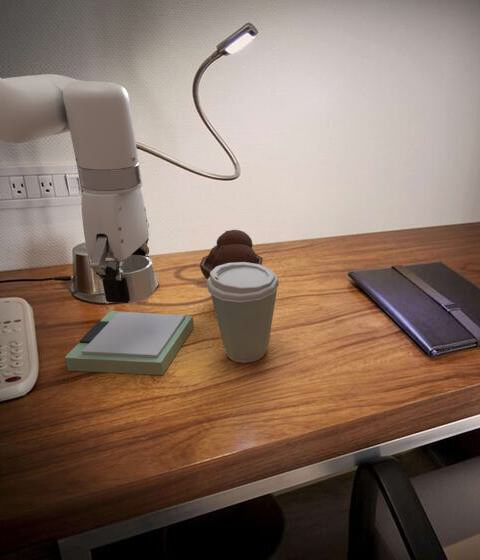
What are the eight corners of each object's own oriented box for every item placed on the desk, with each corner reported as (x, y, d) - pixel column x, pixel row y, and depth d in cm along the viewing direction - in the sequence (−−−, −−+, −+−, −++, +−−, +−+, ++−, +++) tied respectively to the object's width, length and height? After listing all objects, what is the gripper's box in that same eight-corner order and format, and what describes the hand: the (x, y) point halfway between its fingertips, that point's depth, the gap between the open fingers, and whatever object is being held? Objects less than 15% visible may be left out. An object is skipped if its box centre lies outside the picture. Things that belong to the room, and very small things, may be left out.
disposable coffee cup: (261, 329, 93) (257, 252, 87) (293, 357, 86) (292, 276, 80) (202, 348, 87) (194, 266, 80) (232, 381, 80) (225, 294, 73)
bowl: (96, 303, 78) (90, 272, 75) (118, 282, 84) (113, 253, 82) (144, 305, 78) (140, 275, 76) (163, 284, 84) (159, 256, 82)
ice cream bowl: (199, 298, 101) (192, 225, 95) (258, 290, 106) (255, 220, 100) (208, 325, 93) (201, 247, 86) (271, 315, 98) (269, 240, 91)
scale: (67, 370, 79) (63, 354, 77) (111, 322, 91) (108, 307, 90) (163, 375, 80) (160, 359, 78) (194, 327, 92) (192, 312, 91)
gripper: (112, 159, 81) (130, 264, 88) (45, 193, 65) (74, 316, 73) (162, 163, 81) (176, 267, 89) (108, 197, 65) (130, 319, 73)
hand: (130, 288), depth 81 cm, fingers closed on bowl, 7 cm apart
